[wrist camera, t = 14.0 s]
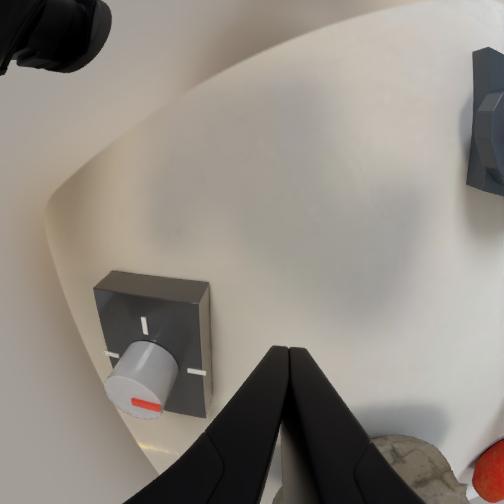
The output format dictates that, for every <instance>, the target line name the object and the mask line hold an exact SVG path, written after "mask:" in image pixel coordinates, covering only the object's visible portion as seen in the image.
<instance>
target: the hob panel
mask: <svg viewBox="0 0 504 504" xmlns="http://www.w3.org/2000/svg"><path fill="white" fill-rule="evenodd" d="M93 290H94V295H95V300H96V304H97V309H98V314H99V318H100V322H101V326H102V330H103V334H104V338H105V342H106V346H107V349H108V351H105V350H104V354H105V355H108V356H109V357H110V360H111V364H112V367H113V369H114V367H115V366H116V364H117V363H118V361H119V360H120V358H121V357H122V355H123V354H124V352H125V351H126V349H127V348H128V346H129V345H130V344H132V343H134V342H137V341H147V342H151V343H154V344H157V345H159V346H160V347H162V348H164V349H165V350H166V351H168V352H169V353H170V354H171V355H172V356H173V358H174V359H175V361H176V362H177V365H178V369H179V373H178V376H177V379H176V381H175V384H174V386H173V388H172V391H171V393H170V395H169V398H168V400H167V403H166V405H165V407H164V410H165V411H170V412H174V413H179V414H184V415H189V416H195V417H200V418H206V417H207V413H208V409H209V406H210V402H211V399H212V395H213V393H212V372H211V344H210V304H209V283H208V282H200V281H191V280H182V279H173V278H165V277H157V276H149V275H141V274H133V273H125V272H118V271H111V272H110V273H109V274H108V275H107V276H106V277H105V278H104V279H102V280H101V281H100V282H99V283H98V284H97V285H96V286H95V287H94V288H93Z"/></svg>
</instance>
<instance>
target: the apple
mask: <svg viewBox="0 0 504 504" xmlns="http://www.w3.org/2000/svg"><path fill="white" fill-rule="evenodd" d="M472 484H473V487H474V489H475V491H476V492H477V493H478V494H479V495H480V497H482V498H483V499H484V500H486V501H488V502H491V503H496V502H499V501H501V500H503V499H504V440H502V441H500V442H498V443H496V444H495V445H493V446H492V447H491V448H489V449H488V450H487V451H486V452H485V453H484V454H483V455H482V456H481V457H480V458H479V460H478V461H477V462H476V465H475V469H474V474H473V478H472Z"/></svg>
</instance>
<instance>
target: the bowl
mask: <svg viewBox="0 0 504 504" xmlns="http://www.w3.org/2000/svg"><path fill="white" fill-rule="evenodd" d="M371 442H374V444H375V445H376V447H377V448H378V449H379V451H380V452H381V453H382V455H383V456H384V457H385V459H386V460H387V461H388V462H389V464H390V465H391V466H392V467H393V469H394V470H395V471H396V472H397V473H398V474H399V475H400V476H401V478H402V479H403V480H404V481H405V482H406V483H407V484H408V485H409V486H410V487H411V488H412V489H413V490H414V491H415V492H416V493H417V494H418V495H419V496H420V497H421V498H422V499H423V500H424V501H425V502H426V503H427V504H470V502H469V501H468V499H467V497H466V488H467V486H468V484H462V483H459V482H458V481H457V479H456V478H455V476H454V473H453V471H452V470H451V467H450V465H449V463H448V462H447V460H446V458H445V457H444V456H443V455H442V453H441V452H440V451H439V450H438V449H437V448H436V447H435V446H434V445H432V444H429V443H428V442H425V441H423V440H420V439H417V438H414V437H409V436H403V435H390V436H383V437H379V438H375V439H371ZM272 504H283V486H282V487H281V488H280V489H279V491H278V492H277V494H276V496H275V498H274V499H273V503H272Z"/></svg>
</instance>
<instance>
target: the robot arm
mask: <svg viewBox="0 0 504 504" xmlns="http://www.w3.org/2000/svg"><path fill="white" fill-rule="evenodd" d="M96 1H97V0H0V76H1V75H4V74H5V73H6V71H7V69H8V68H7V67H8V65H9V63H10V61H11V60H17V65H18V66H22V67H33V68H36V69H49V68H52V67H55V66H58V65H62V64H65V63H66V62H67V60H69V59H73V58H76V57H80V56H83V55H85V54H86V53H87V52H88V50H89V43H90V36H91V29H92V23H93V17H94V12H95V6H96ZM83 48H84V50H83V51H82V49H83ZM280 424H281V425H280ZM279 428H280V436H281V457H282V480H283V504H427V503H426V502H425V501H424V500H423V499H422V498H421V497H420V496H419V495H418V494H417V493H416V492H415V491H414V490H413V489H412V488H411V487H410V486H409V485H408V484H407V483H406V482H405V481H404V480H403V479H402V478H401V476H400V475H399V474H398V473H397V472H396V471H395V470H394V469H393V467H392V466H391V465H390V464H389V462H388V461H387V460H386V459H385V457H384V456H383V455H382V453H381V452H380V451H379V449H378V448H377V447H376V445H375V444H374V442H371V439H370V437H369V436H368V434H367V433H366V432H365V430H364V429H363V428H362V426H361V425H360V423H359V422H358V421H357V419H356V418H355V416H354V415H353V414H352V412H351V411H350V410H349V408H348V407H347V405H346V404H345V403H344V401H343V400H342V398H341V397H340V396H339V394H338V393H337V391H336V390H335V389H334V387H333V386H332V384H331V383H330V382H329V380H328V379H327V377H326V376H325V375H324V373H323V372H322V370H321V369H320V368H319V366H318V365H317V363H316V362H315V361H314V359H313V358H312V356H311V355H310V354H309V352H308V351H307V349H305V348H300V347H290V348H289V349H288V347H286V346H275V345H274V346H272V347H271V348H270V349H269V351H268V352H267V353H266V355H265V356H264V357H263V359H262V360H261V361H260V363H259V364H258V365H257V366H256V368H255V369H254V370H253V372H252V373H251V374H250V376H249V377H248V378H247V379H246V381H245V382H244V383H243V384H242V386H241V387H240V388H239V390H238V391H237V392H236V393H235V395H234V396H233V397H232V398H231V400H230V401H229V402H228V403H227V404H226V406H225V407H224V408H223V409H222V411H221V412H220V413H219V414H218V415H217V417H216V418H215V419H214V420H213V421H212V423H211V424H210V425H209V426H208V427H207V429H206V430H205V432H203V433H202V434H201V435H200V437H199V438H198V439H197V440H196V441H195V442H194V443H193V445H192V446H191V447H190V448H189V449H188V450H187V451H186V452H185V453H184V454H183V455H182V456H181V457H180V458H179V459H178V460H177V461H176V462H175V463H174V464H172V465H171V466H170V467H169V468H168V469H167V470H166V471H164V472H163V473H162V474H161V475H160V476H158V477H157V478H156V479H155V480H153V481H152V482H151V483H149V484H148V485H147V486H146V487H144V488H143V489H142V490H140V491H139V492H138V493H136V494H135V495H134V496H132V497H131V498H130V499H128V500H127V501H126V502H124V503H123V504H260V501H261V497H262V494H263V490H264V487H265V483H266V480H267V476H268V472H269V469H270V465H271V461H272V457H273V453H274V449H275V445H276V441H277V437H278V433H279Z"/></svg>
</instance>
